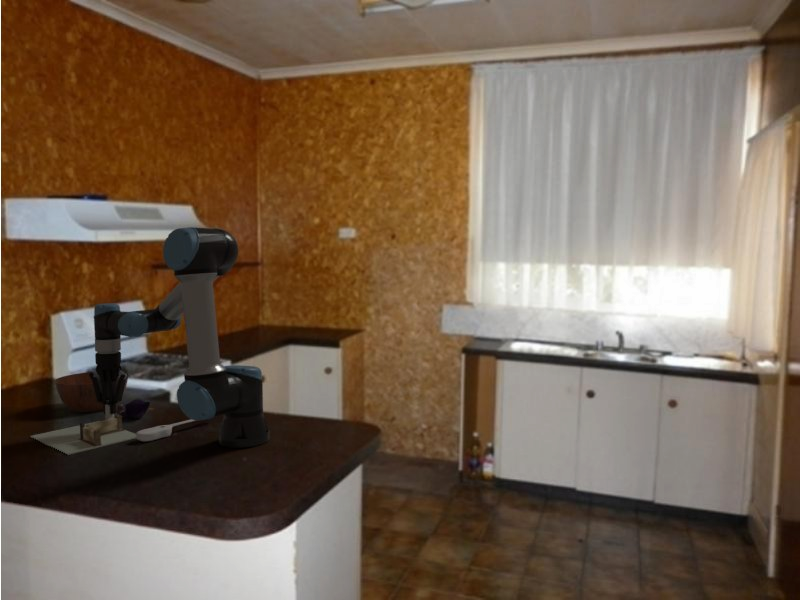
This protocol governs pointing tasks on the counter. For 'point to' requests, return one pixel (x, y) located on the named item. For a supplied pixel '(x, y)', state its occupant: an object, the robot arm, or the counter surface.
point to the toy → (133, 409)
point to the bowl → (79, 392)
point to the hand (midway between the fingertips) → (110, 423)
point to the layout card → (72, 442)
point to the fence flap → (107, 424)
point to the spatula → (158, 431)
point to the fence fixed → (90, 434)
